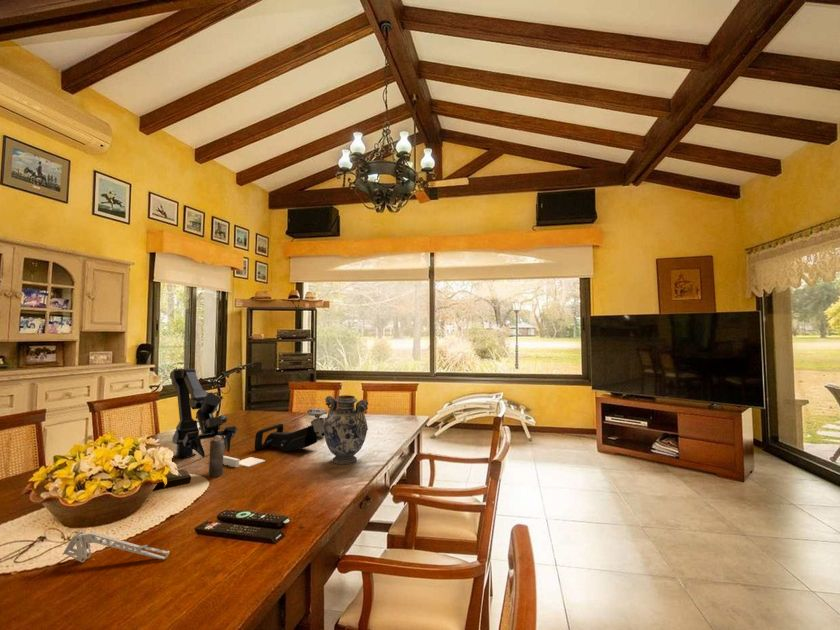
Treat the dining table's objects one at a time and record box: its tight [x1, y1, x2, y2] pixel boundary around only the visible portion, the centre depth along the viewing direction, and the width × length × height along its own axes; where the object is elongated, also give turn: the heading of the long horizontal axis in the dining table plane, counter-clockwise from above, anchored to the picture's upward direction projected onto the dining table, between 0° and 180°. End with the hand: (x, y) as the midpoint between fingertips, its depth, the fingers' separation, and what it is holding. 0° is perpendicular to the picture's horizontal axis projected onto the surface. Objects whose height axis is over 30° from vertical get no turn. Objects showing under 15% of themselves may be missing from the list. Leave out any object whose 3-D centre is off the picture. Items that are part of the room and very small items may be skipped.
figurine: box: [302, 407, 328, 439], centre depth 217 cm, size 9×12×15 cm
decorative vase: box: [323, 394, 369, 465], centre depth 178 cm, size 21×19×28 cm
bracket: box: [62, 530, 170, 563], centre depth 99 cm, size 3×21×10 cm, turn 95°
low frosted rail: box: [223, 455, 240, 468], centre depth 170 cm, size 15×2×3 cm, turn 64°
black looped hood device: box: [254, 423, 318, 452], centre depth 194 cm, size 17×27×15 cm, turn 71°
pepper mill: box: [208, 435, 225, 478], centre depth 157 cm, size 5×5×15 cm
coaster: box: [239, 456, 266, 468], centre depth 172 cm, size 9×9×1 cm
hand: (216, 454), depth 157 cm, fingers open, 9 cm apart
